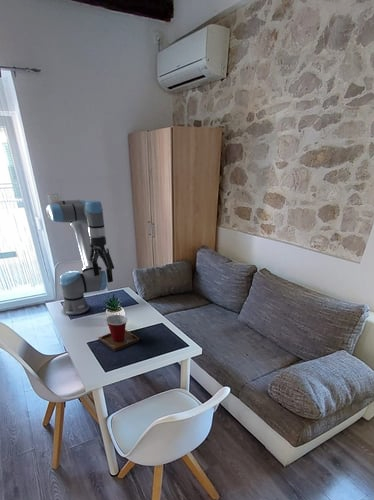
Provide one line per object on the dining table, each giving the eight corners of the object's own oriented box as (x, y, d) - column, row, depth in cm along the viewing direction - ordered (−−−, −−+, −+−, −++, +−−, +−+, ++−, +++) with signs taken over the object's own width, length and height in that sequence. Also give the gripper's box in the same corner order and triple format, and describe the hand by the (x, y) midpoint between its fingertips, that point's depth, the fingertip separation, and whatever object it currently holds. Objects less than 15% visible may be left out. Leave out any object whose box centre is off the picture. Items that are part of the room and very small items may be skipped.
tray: (99, 340, 164) (98, 337, 163) (123, 330, 173) (123, 328, 172) (115, 351, 155) (114, 348, 154) (139, 341, 164) (139, 338, 163)
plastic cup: (124, 345, 158) (122, 324, 152) (105, 343, 160) (101, 322, 153) (132, 335, 167) (130, 315, 160) (113, 333, 169) (110, 313, 162)
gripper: (118, 239, 148) (122, 283, 159) (91, 231, 163) (97, 271, 174) (104, 241, 143) (110, 286, 155) (78, 233, 158) (85, 274, 170)
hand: (103, 278), depth 165 cm, fingers open, 13 cm apart
